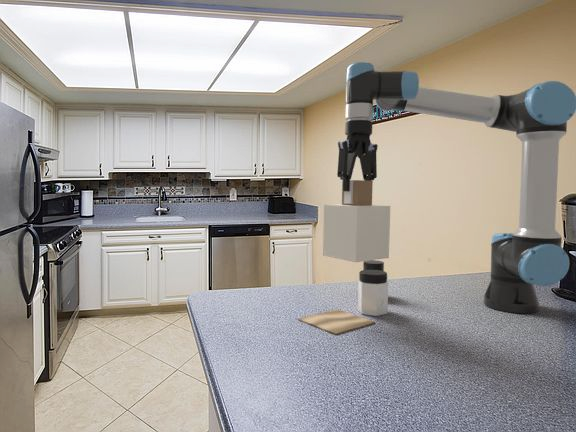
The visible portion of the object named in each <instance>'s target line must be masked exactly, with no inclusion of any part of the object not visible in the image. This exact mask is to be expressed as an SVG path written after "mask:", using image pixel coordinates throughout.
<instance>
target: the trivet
mask: <svg viewBox="0 0 576 432" xmlns="http://www.w3.org/2000/svg"><path fill="white" fill-rule="evenodd" d="M297 320H298V321H300V322H302V323H304V324H307V325H308V326H309V325H310V326H312V327H314V328H317V329H320V330H322V331H325V332H327V333H329V334H331V335H334V336H335V335H336V336H338V335H340V334H343V333H347V332H350V331H354V330H357V329H361V328H364V327H368V326H370V325H375V324H376V321H374V320H370V319H368V318H365V317H362V316H358V315H356V314H353V313H350V312H346V311H344V310H340V309H332V310H327V311H324V312H320V313H315V314H311V315H308V316H307V315H306V316H304V317H299V318H298V319H297Z"/></svg>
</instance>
